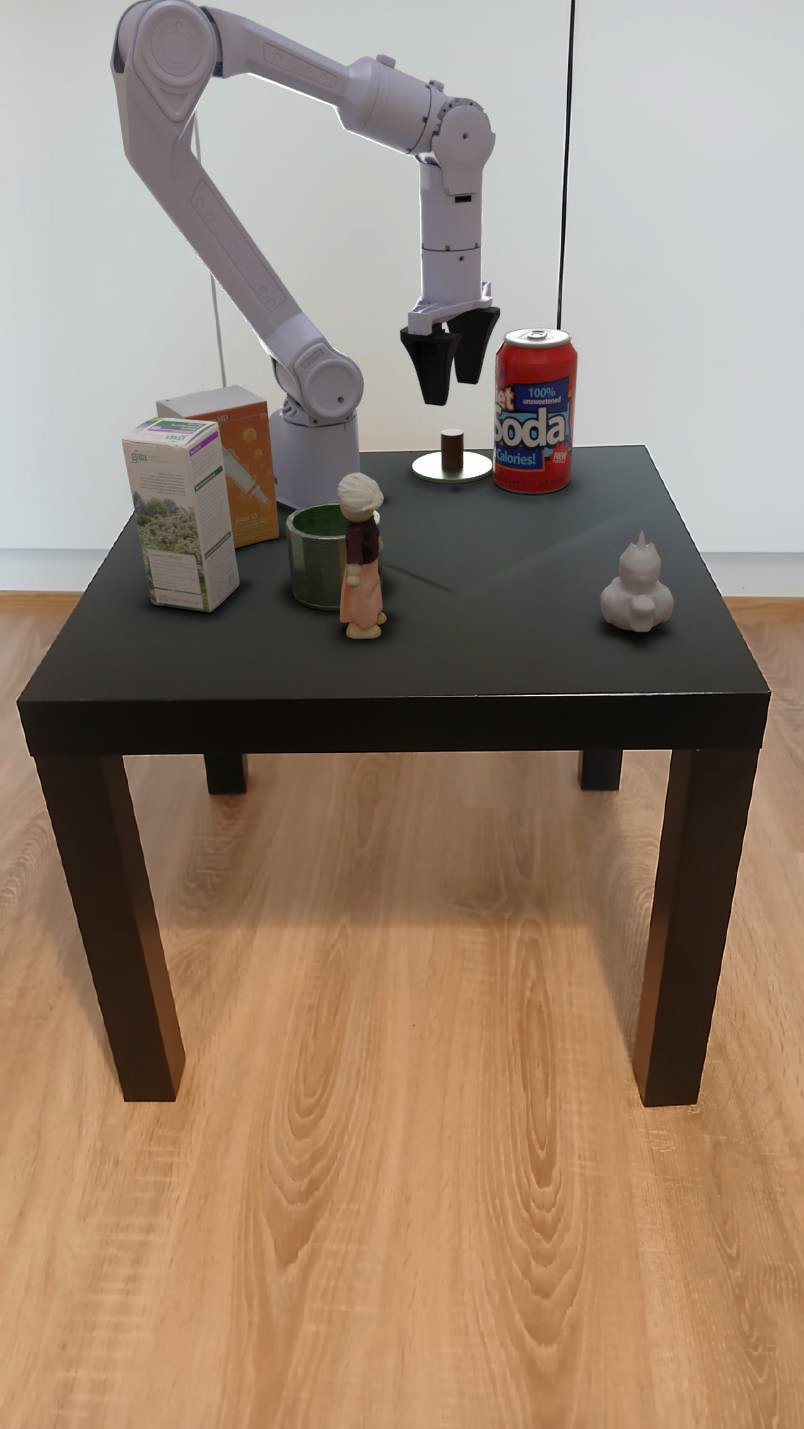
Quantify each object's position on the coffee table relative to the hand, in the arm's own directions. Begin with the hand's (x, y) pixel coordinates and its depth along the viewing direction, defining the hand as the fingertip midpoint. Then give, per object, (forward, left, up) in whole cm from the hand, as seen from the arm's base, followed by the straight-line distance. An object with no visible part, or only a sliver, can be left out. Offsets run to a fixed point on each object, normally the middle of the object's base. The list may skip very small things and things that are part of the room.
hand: (452, 393), depth 105 cm
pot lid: (-1, +1, -8) cm, 9 cm away
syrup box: (+3, -34, -9) cm, 35 cm away
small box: (-5, -25, -9) cm, 27 cm away
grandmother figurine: (+18, -28, -9) cm, 34 cm away
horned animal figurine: (+33, -13, -9) cm, 37 cm away
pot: (+11, -25, -9) cm, 29 cm away
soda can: (+7, +4, -9) cm, 12 cm away
